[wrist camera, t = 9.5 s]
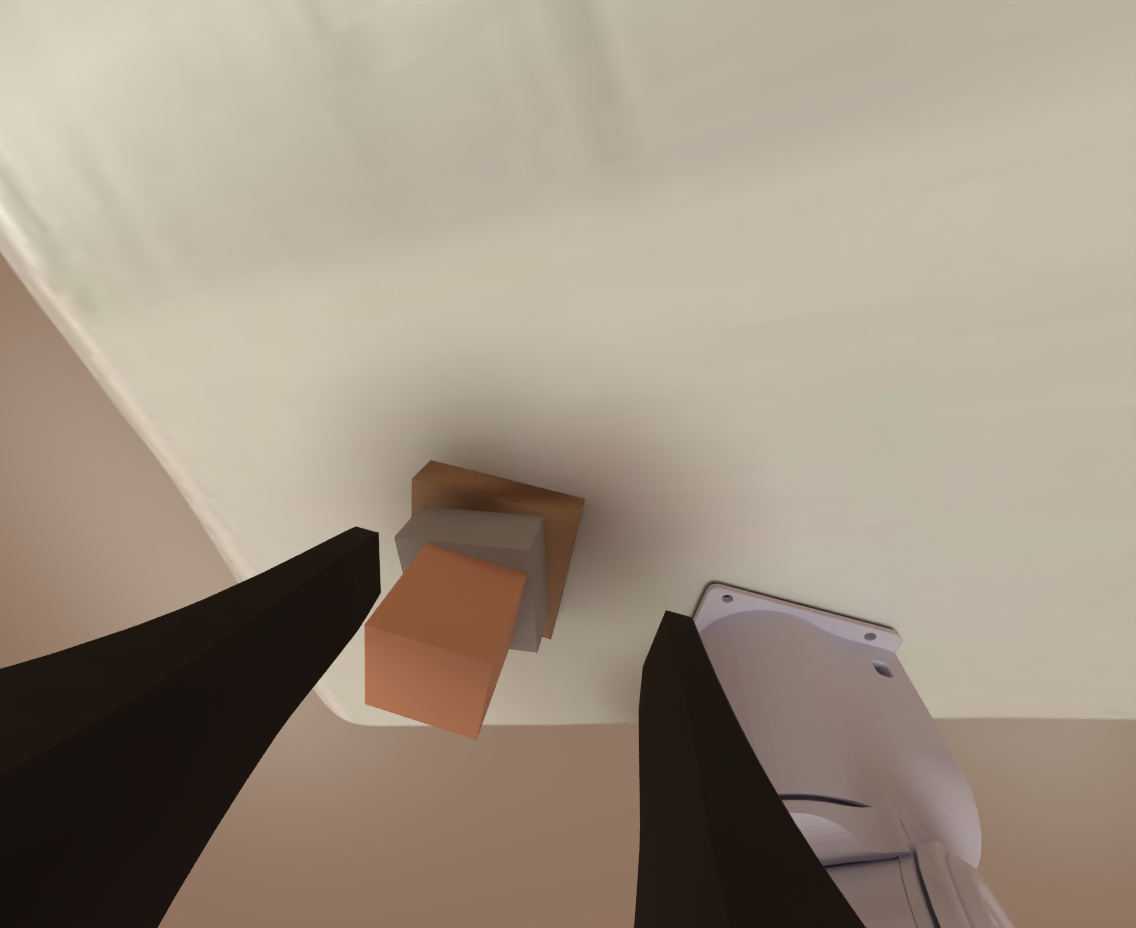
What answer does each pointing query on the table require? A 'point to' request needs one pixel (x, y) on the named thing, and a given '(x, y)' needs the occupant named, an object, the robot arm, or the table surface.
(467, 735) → the terracotta cube
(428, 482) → the walnut slab
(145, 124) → the table surface
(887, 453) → the table surface
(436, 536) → the grey slab
